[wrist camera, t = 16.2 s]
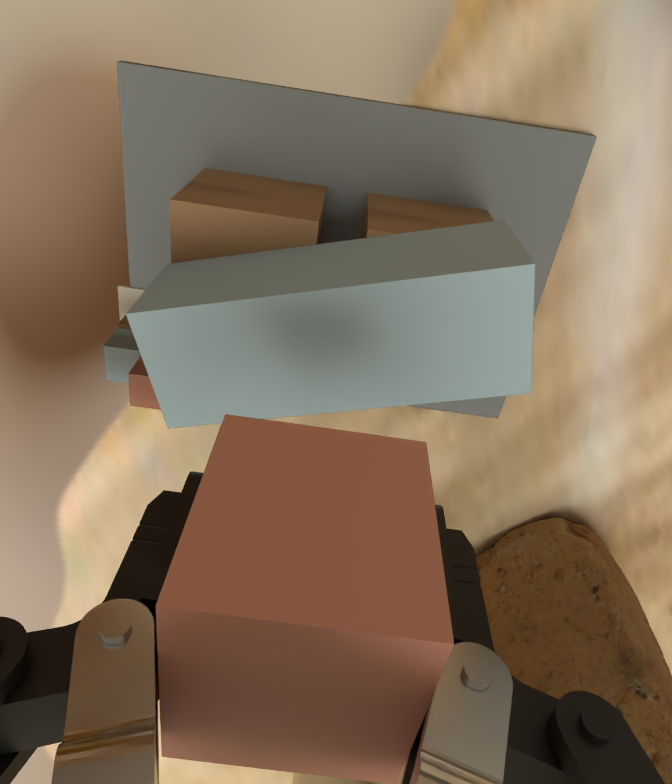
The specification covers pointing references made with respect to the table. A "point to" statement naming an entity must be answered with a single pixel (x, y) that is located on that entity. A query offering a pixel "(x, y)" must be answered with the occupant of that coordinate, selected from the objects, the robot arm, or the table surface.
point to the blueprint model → (128, 355)
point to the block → (577, 627)
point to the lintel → (340, 326)
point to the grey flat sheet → (338, 163)
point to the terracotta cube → (304, 604)
